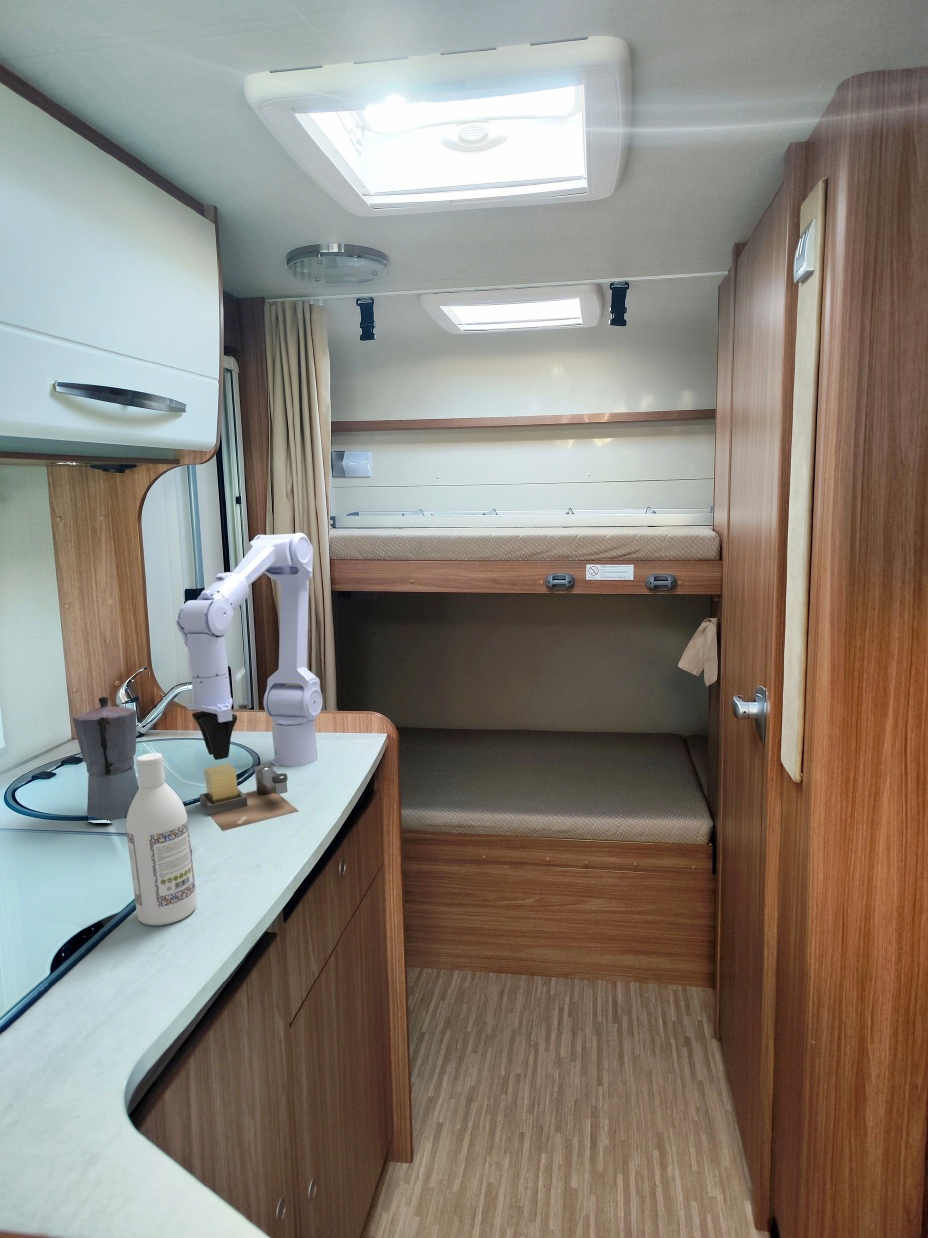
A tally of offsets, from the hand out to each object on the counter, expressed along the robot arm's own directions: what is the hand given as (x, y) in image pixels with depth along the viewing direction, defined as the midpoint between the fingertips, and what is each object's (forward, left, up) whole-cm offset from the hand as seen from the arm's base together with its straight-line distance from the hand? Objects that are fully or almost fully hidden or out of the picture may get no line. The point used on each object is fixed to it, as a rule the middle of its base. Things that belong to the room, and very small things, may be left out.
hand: (218, 755), depth 128 cm
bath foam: (+29, -15, -10) cm, 34 cm away
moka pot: (-9, -15, -10) cm, 20 cm away
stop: (0, 0, -8) cm, 8 cm away
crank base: (+4, +3, -9) cm, 11 cm away
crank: (+3, +7, -8) cm, 12 cm away
